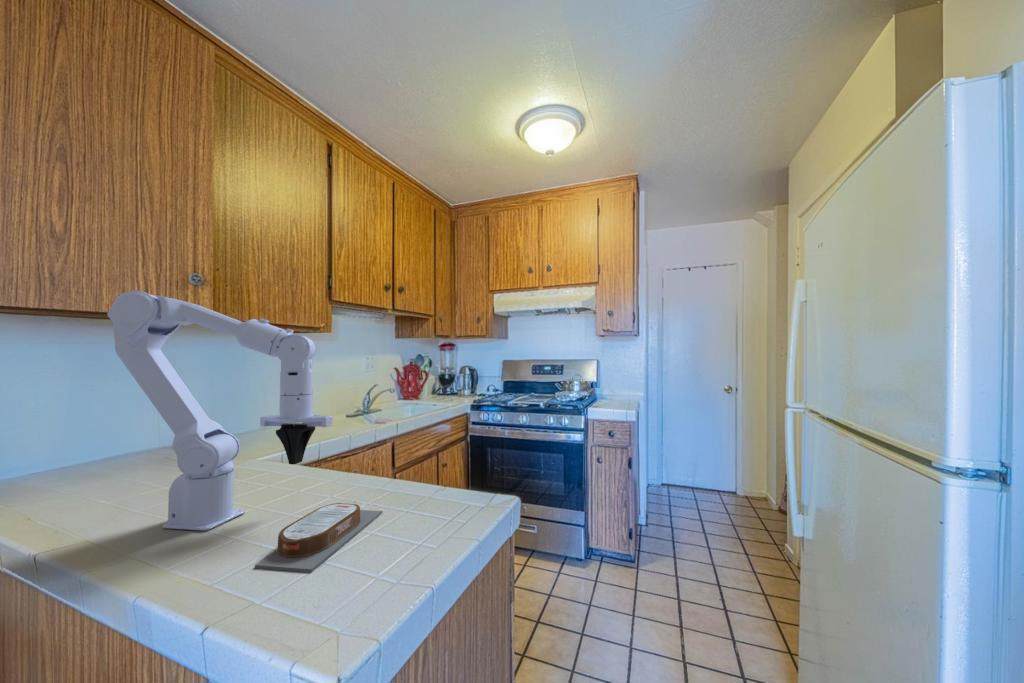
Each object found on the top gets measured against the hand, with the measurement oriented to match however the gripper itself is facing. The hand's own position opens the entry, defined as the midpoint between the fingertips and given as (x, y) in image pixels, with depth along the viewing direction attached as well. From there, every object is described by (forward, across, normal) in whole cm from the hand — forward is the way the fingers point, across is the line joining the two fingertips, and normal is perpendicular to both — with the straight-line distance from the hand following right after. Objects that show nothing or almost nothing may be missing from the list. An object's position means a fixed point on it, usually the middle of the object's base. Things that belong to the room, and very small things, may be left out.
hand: (295, 462), depth 73 cm
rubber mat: (+9, +14, -9) cm, 19 cm away
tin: (+7, +8, -9) cm, 14 cm away
